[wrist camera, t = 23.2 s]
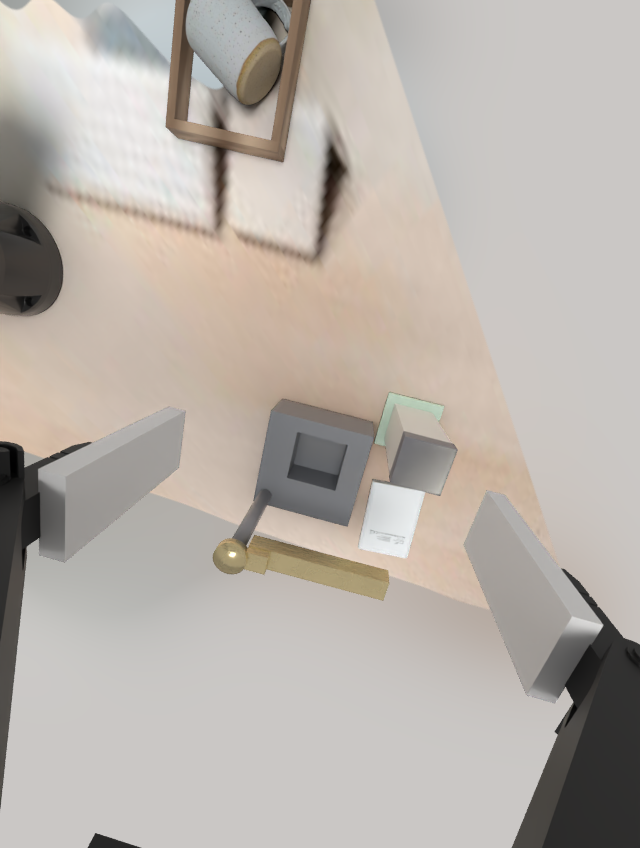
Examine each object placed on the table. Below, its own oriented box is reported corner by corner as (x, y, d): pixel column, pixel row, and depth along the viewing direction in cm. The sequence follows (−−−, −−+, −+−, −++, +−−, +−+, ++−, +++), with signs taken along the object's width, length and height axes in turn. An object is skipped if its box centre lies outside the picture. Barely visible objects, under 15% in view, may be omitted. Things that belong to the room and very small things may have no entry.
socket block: (265, 480, 60) (219, 558, 41) (282, 398, 55) (238, 444, 36) (349, 502, 59) (341, 592, 40) (373, 422, 55) (376, 480, 36)
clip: (222, 549, 43) (210, 569, 39) (227, 523, 42) (215, 541, 38) (380, 591, 42) (382, 615, 38) (389, 566, 41) (391, 588, 37)
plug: (383, 438, 55) (390, 482, 40) (394, 402, 53) (405, 436, 39) (420, 447, 54) (439, 496, 40) (432, 412, 53) (457, 449, 38)
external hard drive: (424, 487, 57) (406, 553, 61) (372, 477, 58) (357, 543, 62) (425, 491, 56) (407, 559, 60) (372, 481, 56) (357, 549, 60)
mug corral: (177, 138, 47) (165, 126, 44) (192, -26, 42) (179, -50, 39) (283, 162, 46) (277, 152, 43) (310, -1, 41) (306, -24, 38)
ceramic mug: (251, 122, 45) (230, 85, 38) (202, 67, 44) (171, 17, 37) (312, 44, 43) (302, -13, 35) (262, -18, 42) (241, -89, 34)
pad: (374, 442, 56) (374, 443, 55) (389, 391, 53) (389, 392, 52) (425, 455, 55) (426, 457, 55) (443, 405, 53) (444, 406, 52)
